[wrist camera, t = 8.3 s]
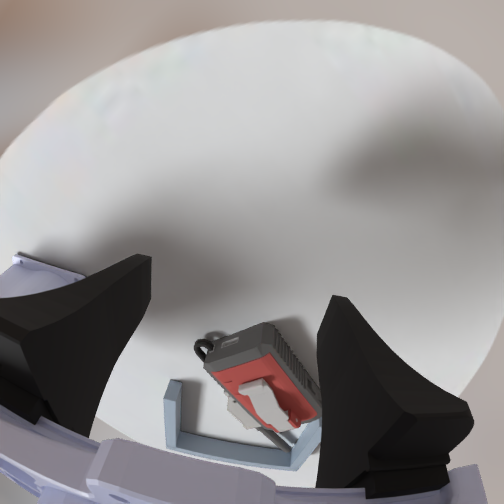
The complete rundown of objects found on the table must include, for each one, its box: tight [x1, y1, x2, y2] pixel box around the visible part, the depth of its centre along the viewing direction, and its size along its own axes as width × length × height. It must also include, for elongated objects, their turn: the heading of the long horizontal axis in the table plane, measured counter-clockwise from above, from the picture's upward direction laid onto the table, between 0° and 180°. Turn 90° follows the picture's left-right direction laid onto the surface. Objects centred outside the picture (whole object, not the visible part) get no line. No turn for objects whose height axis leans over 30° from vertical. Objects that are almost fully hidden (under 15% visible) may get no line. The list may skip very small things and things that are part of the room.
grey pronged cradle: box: [163, 380, 322, 471], centre depth 30 cm, size 16×12×2 cm
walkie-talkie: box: [194, 322, 322, 453], centre depth 27 cm, size 9×4×20 cm
